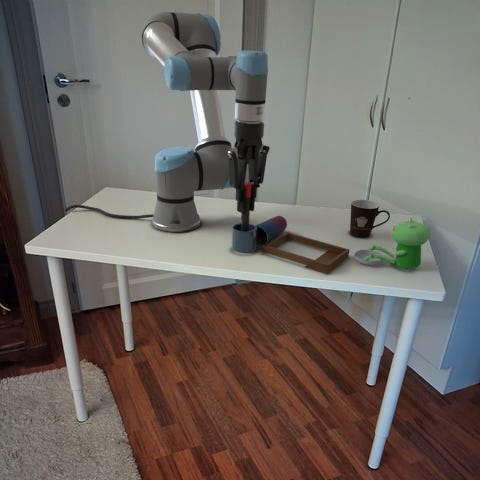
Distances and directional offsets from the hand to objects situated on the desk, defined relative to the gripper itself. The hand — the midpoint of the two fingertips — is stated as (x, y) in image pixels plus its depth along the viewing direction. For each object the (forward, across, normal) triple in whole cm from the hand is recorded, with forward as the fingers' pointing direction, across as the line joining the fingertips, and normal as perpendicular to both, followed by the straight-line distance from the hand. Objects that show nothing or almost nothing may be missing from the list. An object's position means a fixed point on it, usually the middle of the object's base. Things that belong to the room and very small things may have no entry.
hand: (245, 210), depth 132 cm
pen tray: (+12, +12, -14) cm, 22 cm away
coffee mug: (+12, +39, -14) cm, 43 cm away
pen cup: (+12, 0, 0) cm, 12 cm away
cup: (+9, +18, +4) cm, 21 cm away
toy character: (+12, +28, -31) cm, 43 cm away
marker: (+8, 0, 0) cm, 8 cm away
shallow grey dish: (+14, +27, -26) cm, 39 cm away
